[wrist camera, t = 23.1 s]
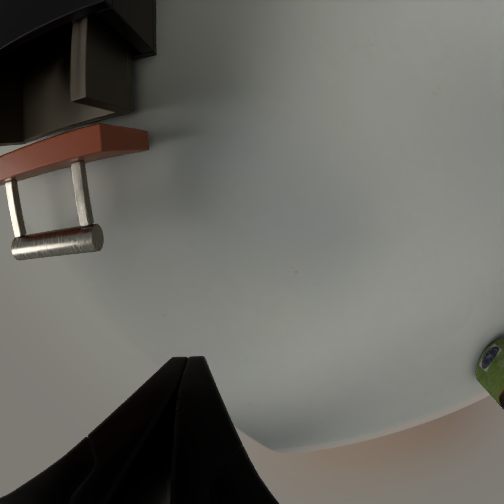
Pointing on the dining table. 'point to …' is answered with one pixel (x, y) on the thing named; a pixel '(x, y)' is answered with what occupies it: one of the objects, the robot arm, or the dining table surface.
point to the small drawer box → (72, 8)
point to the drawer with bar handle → (64, 121)
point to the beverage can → (493, 370)
